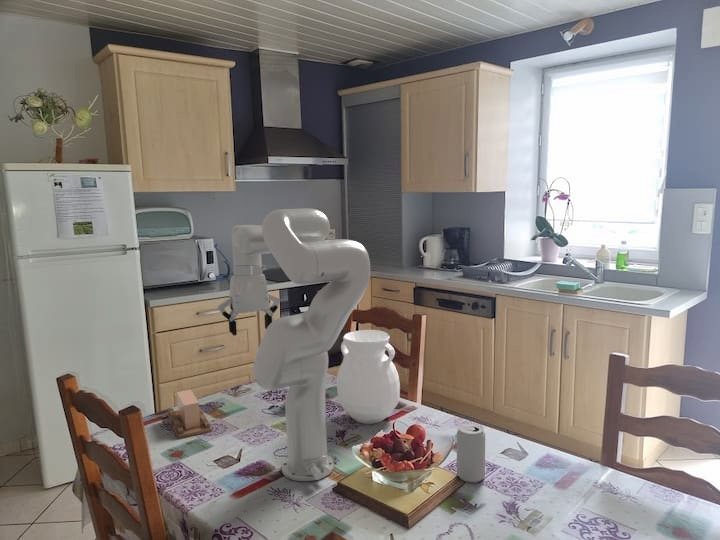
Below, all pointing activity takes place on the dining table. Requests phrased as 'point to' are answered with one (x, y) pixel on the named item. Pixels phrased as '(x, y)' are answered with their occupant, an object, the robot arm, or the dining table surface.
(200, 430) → the rack
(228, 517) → the dining table surface
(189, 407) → the block
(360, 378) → the white vase
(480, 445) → the beverage can
